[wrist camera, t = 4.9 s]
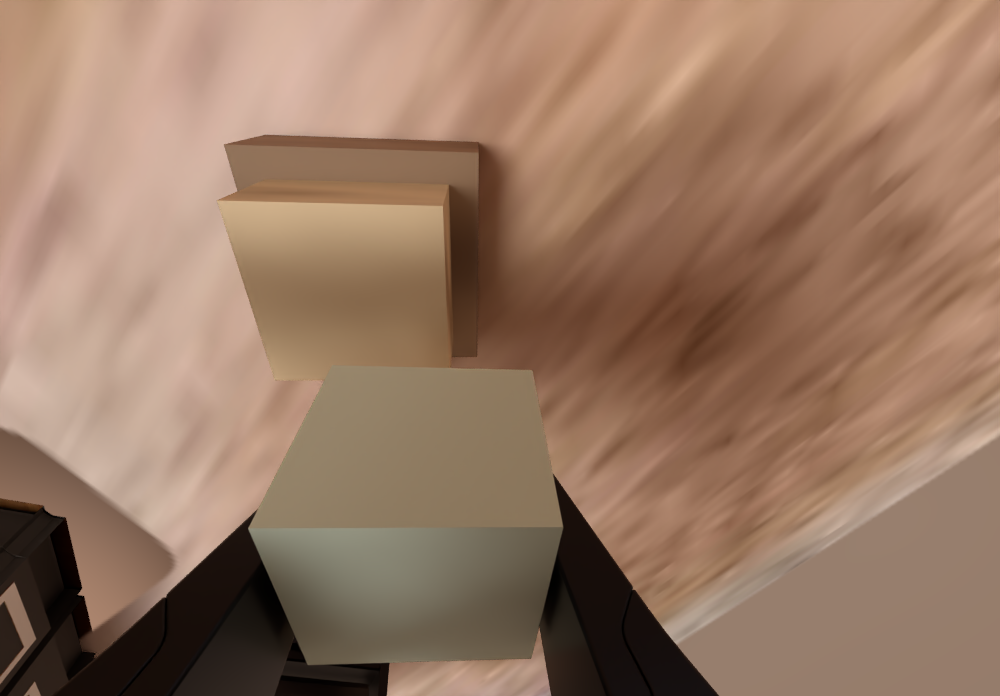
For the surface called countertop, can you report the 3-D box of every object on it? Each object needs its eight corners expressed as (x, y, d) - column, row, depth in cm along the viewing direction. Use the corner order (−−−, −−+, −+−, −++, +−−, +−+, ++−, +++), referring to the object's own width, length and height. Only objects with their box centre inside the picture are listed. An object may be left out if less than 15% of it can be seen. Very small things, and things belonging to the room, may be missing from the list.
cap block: (515, 496, 12) (531, 658, 9) (356, 496, 12) (307, 665, 8) (532, 370, 9) (563, 527, 6) (332, 365, 9) (247, 528, 6)
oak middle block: (453, 336, 17) (449, 380, 15) (305, 335, 17) (274, 380, 14) (448, 184, 14) (442, 206, 11) (265, 179, 13) (216, 200, 11)
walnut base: (477, 323, 20) (477, 356, 18) (310, 321, 20) (286, 356, 17) (478, 142, 16) (478, 152, 13) (265, 134, 15) (223, 144, 13)
